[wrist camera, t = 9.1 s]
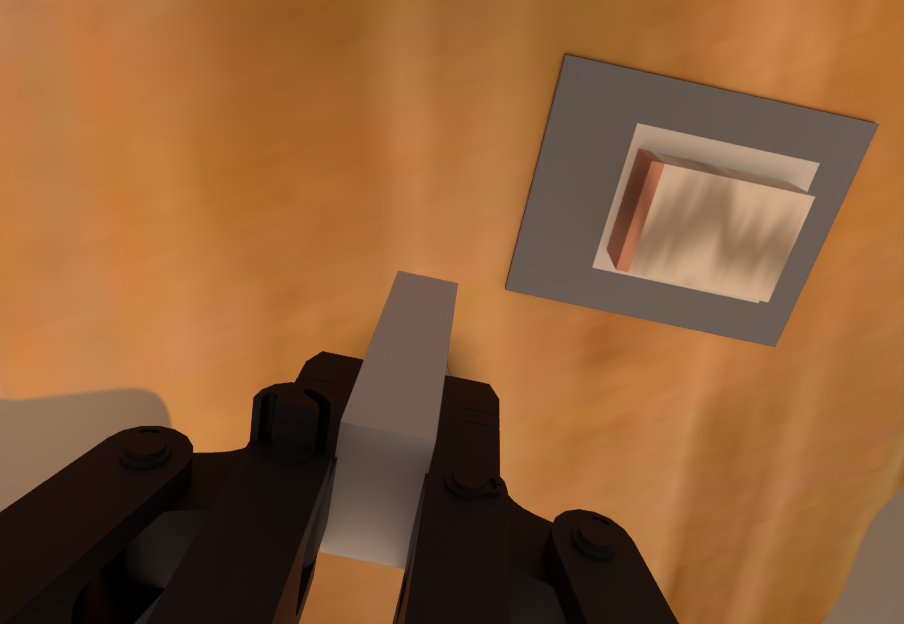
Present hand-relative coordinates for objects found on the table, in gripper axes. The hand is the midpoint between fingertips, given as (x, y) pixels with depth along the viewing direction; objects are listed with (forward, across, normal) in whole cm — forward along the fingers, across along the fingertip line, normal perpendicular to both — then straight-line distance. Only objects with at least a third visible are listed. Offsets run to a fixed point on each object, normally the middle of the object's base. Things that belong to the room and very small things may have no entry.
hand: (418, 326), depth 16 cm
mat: (+29, +15, -2) cm, 33 cm away
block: (+27, +11, -2) cm, 29 cm away
